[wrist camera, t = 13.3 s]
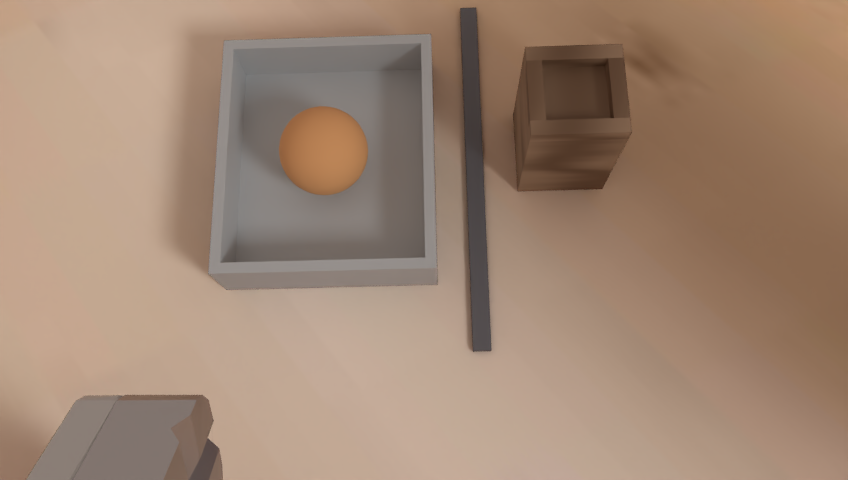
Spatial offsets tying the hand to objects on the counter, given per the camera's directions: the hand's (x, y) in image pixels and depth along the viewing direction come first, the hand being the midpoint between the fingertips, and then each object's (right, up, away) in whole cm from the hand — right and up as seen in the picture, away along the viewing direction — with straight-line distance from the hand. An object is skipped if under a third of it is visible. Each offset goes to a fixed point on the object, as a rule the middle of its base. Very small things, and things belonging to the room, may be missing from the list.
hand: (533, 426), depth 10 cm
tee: (+7, +8, +37) cm, 38 cm away
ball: (-7, +7, +34) cm, 36 cm away
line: (+2, +7, +37) cm, 38 cm away
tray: (-7, +6, +37) cm, 38 cm away
